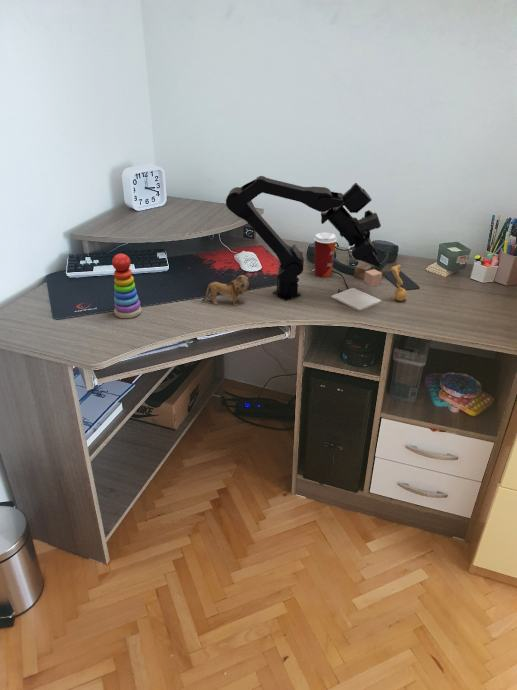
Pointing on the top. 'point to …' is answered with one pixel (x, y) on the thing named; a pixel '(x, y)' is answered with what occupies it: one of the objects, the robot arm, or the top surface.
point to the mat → (356, 299)
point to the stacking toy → (125, 288)
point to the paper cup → (324, 253)
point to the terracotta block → (373, 277)
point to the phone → (407, 282)
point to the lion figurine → (228, 289)
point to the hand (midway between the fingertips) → (378, 260)
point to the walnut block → (361, 271)
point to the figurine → (400, 292)
